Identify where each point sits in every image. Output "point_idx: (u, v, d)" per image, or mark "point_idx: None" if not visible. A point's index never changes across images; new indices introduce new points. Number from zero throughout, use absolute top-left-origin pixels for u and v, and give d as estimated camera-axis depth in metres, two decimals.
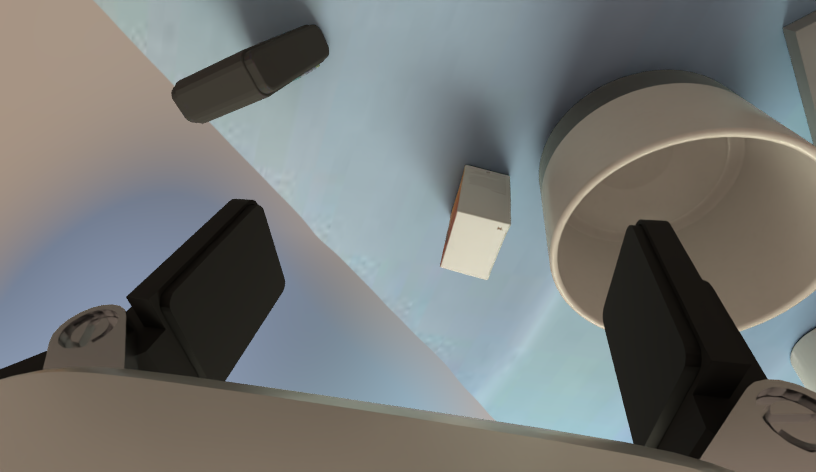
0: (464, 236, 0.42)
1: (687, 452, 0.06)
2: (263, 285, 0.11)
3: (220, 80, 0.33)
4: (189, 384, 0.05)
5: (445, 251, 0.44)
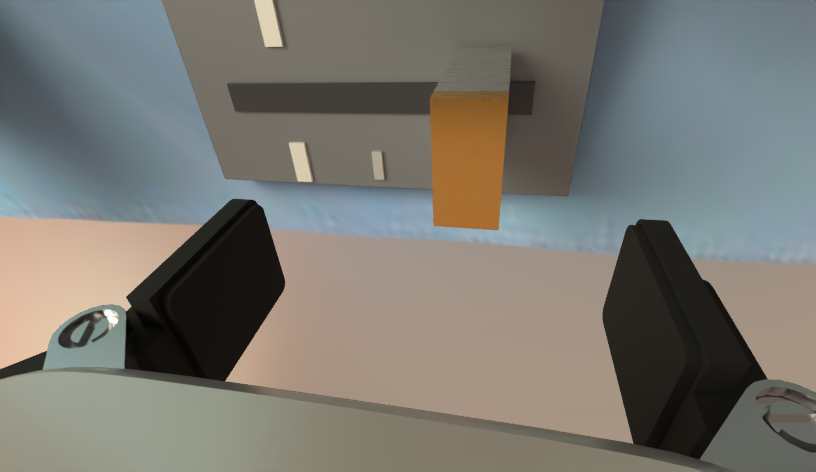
0: None
1: (687, 452, 0.06)
2: (263, 285, 0.11)
3: None
4: (189, 384, 0.05)
5: None
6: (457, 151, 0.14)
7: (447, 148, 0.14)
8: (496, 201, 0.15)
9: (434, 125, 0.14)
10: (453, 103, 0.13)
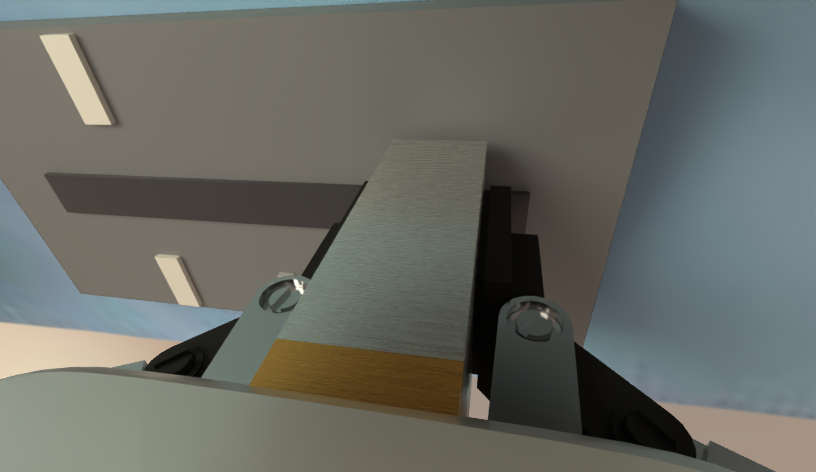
0: None
1: (478, 359, 0.08)
2: None
3: None
4: (189, 384, 0.05)
5: None
6: None
7: None
8: None
9: None
10: None
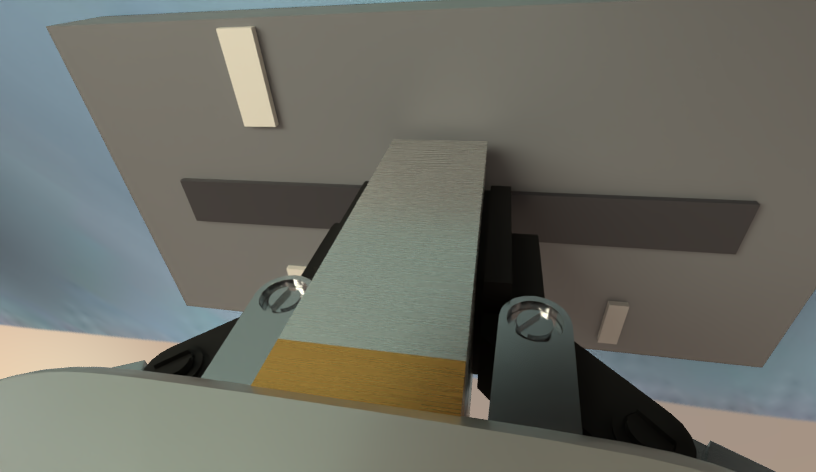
0: None
1: (479, 359, 0.08)
2: None
3: None
4: (191, 383, 0.05)
5: None
6: None
7: None
8: None
9: None
10: None
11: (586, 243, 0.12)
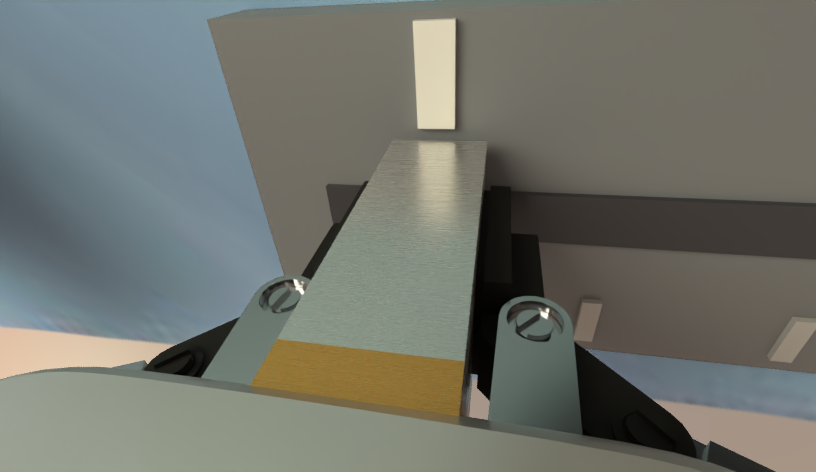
0: None
1: (478, 359, 0.08)
2: None
3: None
4: (190, 383, 0.05)
5: None
6: None
7: None
8: None
9: None
10: None
11: (788, 256, 0.11)
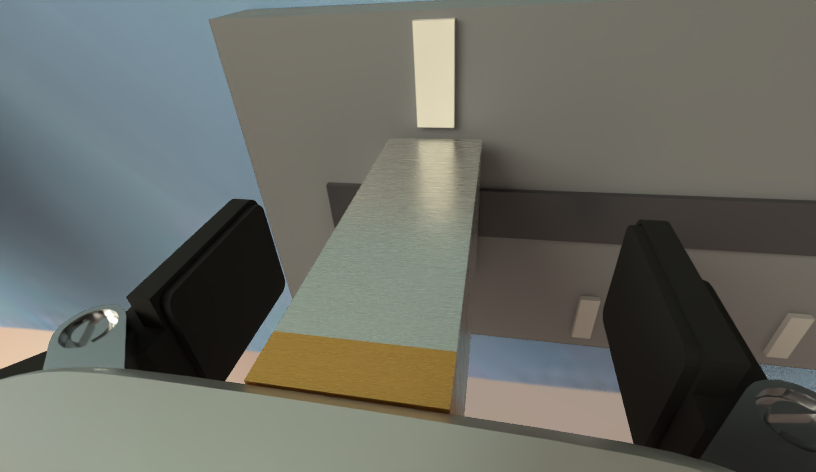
0: None
1: (687, 452, 0.06)
2: (263, 285, 0.11)
3: None
4: (189, 384, 0.05)
5: None
6: None
7: None
8: None
9: None
10: None
11: (783, 252, 0.11)
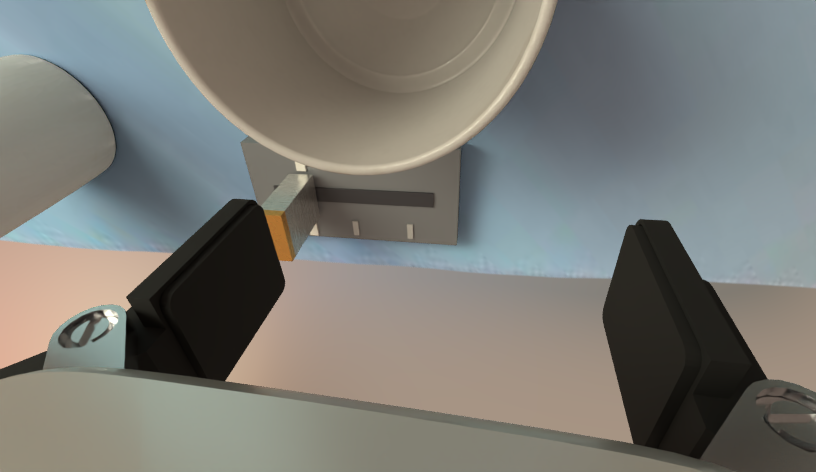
0: None
1: (687, 452, 0.06)
2: (263, 285, 0.11)
3: None
4: (189, 383, 0.05)
5: None
6: None
7: None
8: (288, 250, 0.37)
9: None
10: None
11: (395, 205, 0.42)
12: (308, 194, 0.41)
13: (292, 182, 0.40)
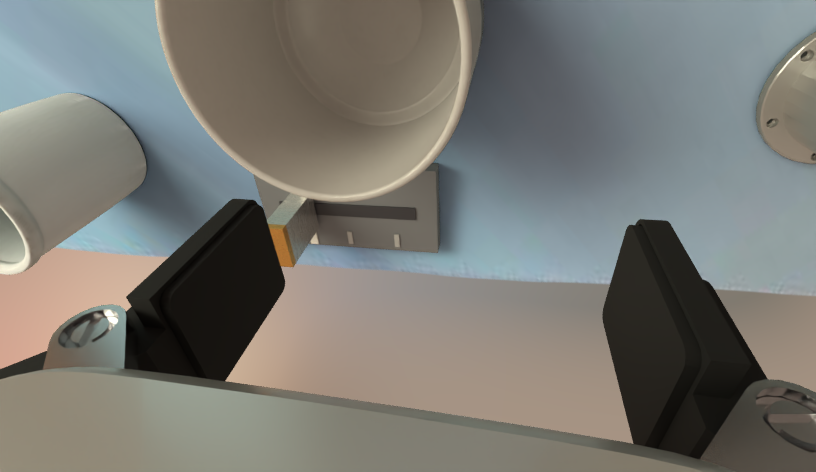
0: None
1: (687, 452, 0.06)
2: (263, 285, 0.11)
3: None
4: (189, 384, 0.05)
5: None
6: None
7: None
8: (289, 258, 0.44)
9: None
10: None
11: (383, 218, 0.49)
12: (307, 209, 0.48)
13: (294, 199, 0.47)
